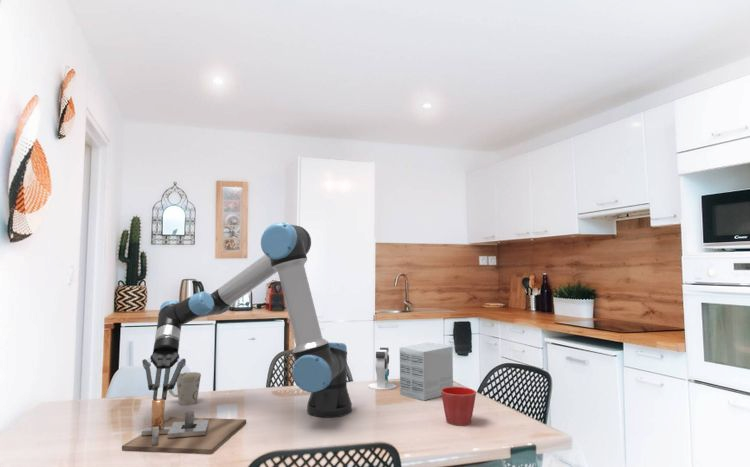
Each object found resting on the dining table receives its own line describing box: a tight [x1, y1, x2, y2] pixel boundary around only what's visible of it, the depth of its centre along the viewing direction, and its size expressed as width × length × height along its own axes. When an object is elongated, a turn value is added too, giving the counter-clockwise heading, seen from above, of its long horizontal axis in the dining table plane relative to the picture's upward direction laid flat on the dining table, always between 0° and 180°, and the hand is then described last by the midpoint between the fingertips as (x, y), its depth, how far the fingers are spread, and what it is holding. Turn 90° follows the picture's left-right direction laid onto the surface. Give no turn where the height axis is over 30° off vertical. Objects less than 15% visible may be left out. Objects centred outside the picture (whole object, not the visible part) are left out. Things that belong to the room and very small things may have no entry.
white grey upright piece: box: [368, 347, 397, 391], centre depth 199 cm, size 12×11×15 cm
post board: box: [121, 410, 247, 455], centre depth 141 cm, size 25×25×7 cm
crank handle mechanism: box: [141, 399, 209, 438], centre depth 140 cm, size 18×10×9 cm, turn 104°
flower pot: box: [441, 386, 477, 426], centre depth 154 cm, size 11×11×10 cm
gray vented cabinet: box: [399, 342, 454, 402], centre depth 188 cm, size 17×13×18 cm
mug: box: [168, 371, 202, 406], centre depth 176 cm, size 8×13×10 cm, turn 78°
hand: (158, 409), depth 142 cm, fingers closed
